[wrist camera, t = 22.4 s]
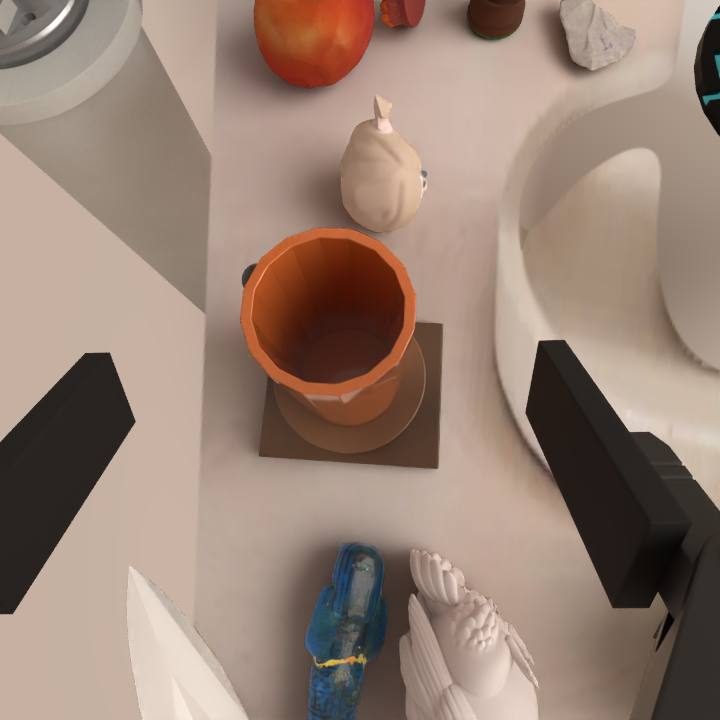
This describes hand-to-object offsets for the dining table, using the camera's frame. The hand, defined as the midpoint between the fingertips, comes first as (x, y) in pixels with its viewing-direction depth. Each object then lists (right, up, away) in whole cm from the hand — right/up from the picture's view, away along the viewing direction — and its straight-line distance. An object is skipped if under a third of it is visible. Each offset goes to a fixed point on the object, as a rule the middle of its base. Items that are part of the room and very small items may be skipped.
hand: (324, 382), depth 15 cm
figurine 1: (0, -18, +15) cm, 24 cm away
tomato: (-2, +26, +25) cm, 36 cm away
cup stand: (+1, -1, +19) cm, 19 cm away
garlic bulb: (+3, +13, +22) cm, 26 cm away
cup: (0, 0, +13) cm, 13 cm away
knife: (-7, -25, +14) cm, 29 cm away
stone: (+20, +27, +25) cm, 42 cm away
